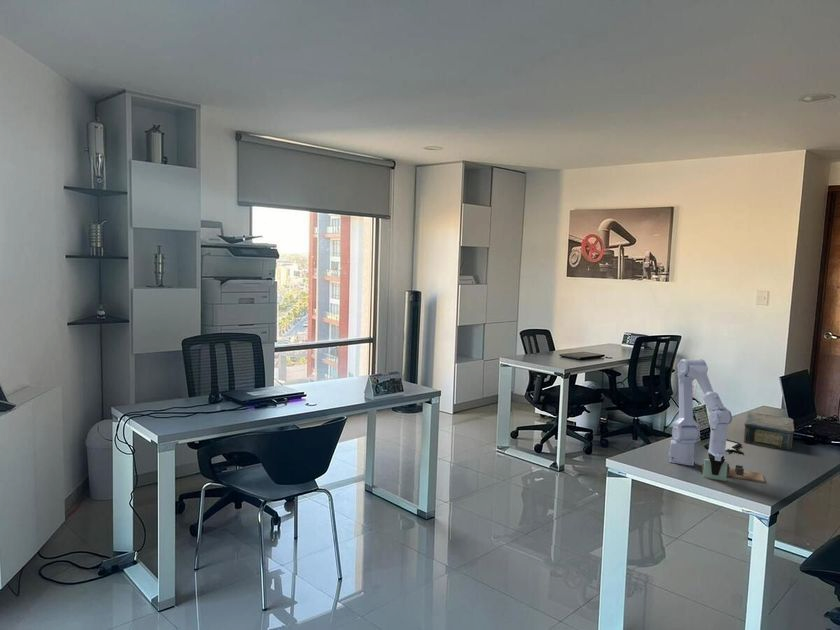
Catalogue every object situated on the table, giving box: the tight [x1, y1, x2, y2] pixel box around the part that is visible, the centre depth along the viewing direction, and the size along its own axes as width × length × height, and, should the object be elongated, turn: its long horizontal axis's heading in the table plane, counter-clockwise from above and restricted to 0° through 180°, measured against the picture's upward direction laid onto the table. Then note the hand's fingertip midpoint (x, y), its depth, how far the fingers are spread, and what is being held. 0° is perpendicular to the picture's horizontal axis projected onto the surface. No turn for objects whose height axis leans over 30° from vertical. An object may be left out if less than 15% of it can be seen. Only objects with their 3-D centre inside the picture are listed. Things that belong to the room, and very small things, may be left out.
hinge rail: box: [700, 463, 766, 484], centre depth 243 cm, size 22×10×3 cm, turn 67°
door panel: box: [702, 458, 729, 482], centre depth 236 cm, size 8×2×7 cm, turn 67°
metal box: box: [743, 411, 795, 451], centre depth 300 cm, size 21×32×10 cm, turn 149°
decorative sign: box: [703, 438, 745, 456], centre depth 280 cm, size 22×2×15 cm
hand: (714, 473), depth 237 cm, fingers closed on door panel, 2 cm apart
